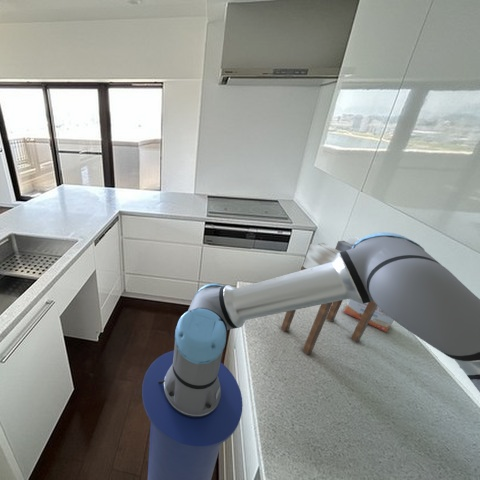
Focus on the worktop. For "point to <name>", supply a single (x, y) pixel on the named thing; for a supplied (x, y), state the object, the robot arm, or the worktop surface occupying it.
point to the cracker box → (377, 320)
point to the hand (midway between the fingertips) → (397, 261)
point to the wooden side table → (317, 257)
